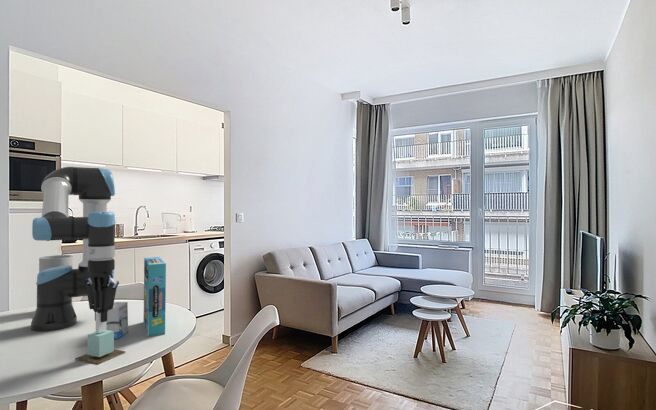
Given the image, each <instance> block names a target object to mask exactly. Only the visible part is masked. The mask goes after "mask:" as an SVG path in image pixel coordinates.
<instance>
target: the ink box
mask: <svg viewBox="0 0 656 410" xmlns="http://www.w3.org/2000/svg"><path fill="white" fill-rule="evenodd" d="M128 306H129V305H128V301H114V304H113V309H111V310H108V312H107V321H106V330H109V331H114V340H119V339H120V338H122V337H123V336H124V335H125V334H127V333H128V332H129V315H128V314H129V313H128V312H129V311H128V308H129V307H128Z"/></svg>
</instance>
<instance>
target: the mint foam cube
mask: <svg viewBox="0 0 656 410" xmlns="http://www.w3.org/2000/svg"><path fill="white" fill-rule="evenodd" d="M114 341H115V339H114V331H109V330H106V331H104V332H101V333H96V331H94V332H90V333H88V334H87V354H88V355H91V356H96V357H101V356H103V355H106V354H108V353H111V352H113V351H114V348H115V345H114V343H115V342H114Z"/></svg>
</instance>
